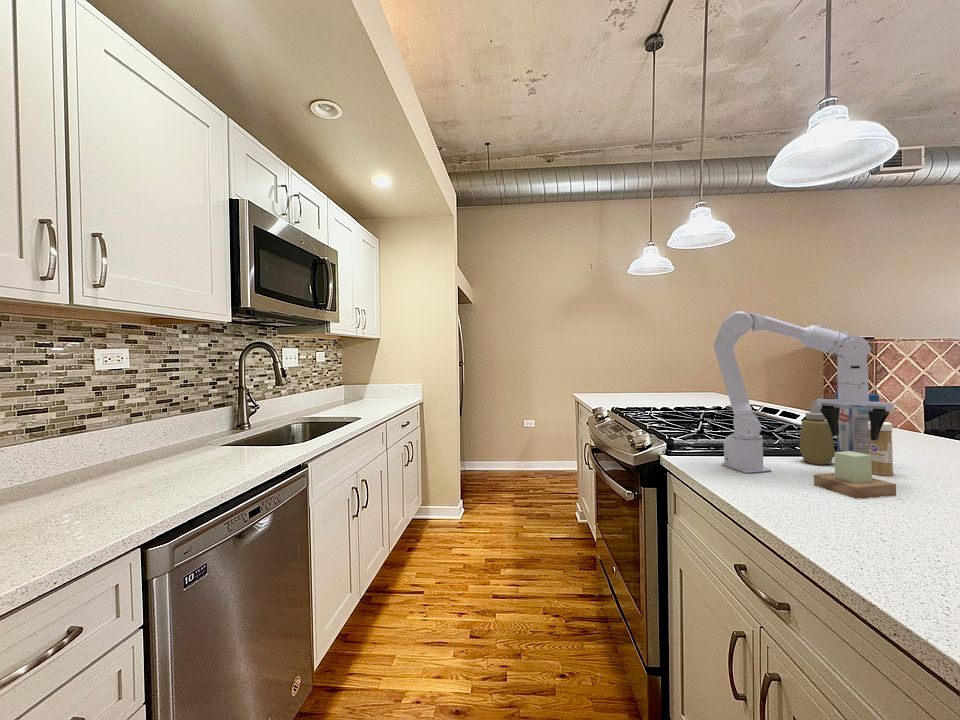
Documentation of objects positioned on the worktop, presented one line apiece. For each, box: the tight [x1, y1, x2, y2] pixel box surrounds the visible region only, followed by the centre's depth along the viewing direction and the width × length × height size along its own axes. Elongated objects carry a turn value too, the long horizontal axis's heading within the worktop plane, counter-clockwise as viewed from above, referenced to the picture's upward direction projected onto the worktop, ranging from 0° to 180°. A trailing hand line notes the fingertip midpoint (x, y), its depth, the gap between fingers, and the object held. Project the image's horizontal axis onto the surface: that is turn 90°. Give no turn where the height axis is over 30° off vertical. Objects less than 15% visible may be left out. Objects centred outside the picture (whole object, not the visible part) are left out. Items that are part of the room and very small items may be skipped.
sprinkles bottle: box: [868, 421, 894, 477], centre depth 106 cm, size 5×5×13 cm
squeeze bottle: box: [798, 400, 836, 466], centre depth 118 cm, size 8×8×18 cm
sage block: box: [833, 451, 873, 483], centre depth 95 cm, size 4×4×6 cm
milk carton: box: [834, 391, 880, 455], centre depth 117 cm, size 10×6×20 cm, turn 157°
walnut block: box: [813, 472, 897, 500], centre depth 95 cm, size 10×10×3 cm
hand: (854, 437), depth 103 cm, fingers open, 7 cm apart
